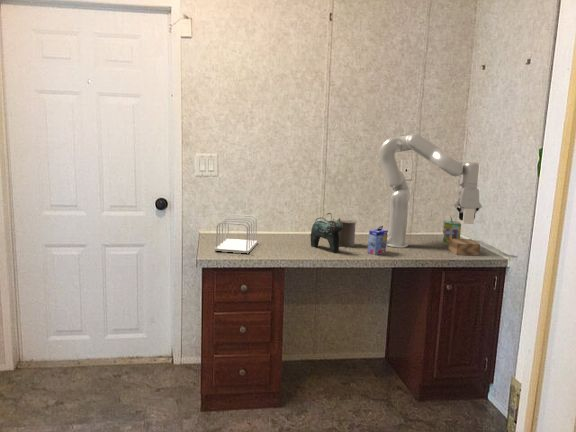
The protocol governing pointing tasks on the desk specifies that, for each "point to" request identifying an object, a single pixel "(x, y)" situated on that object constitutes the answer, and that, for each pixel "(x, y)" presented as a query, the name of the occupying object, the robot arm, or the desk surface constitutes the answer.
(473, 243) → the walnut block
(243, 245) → the file sorter
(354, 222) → the pillar candle
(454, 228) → the chalk box
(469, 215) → the white rectangular block
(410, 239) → the desk surface
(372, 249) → the ink cartridge box
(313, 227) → the animal figurine
